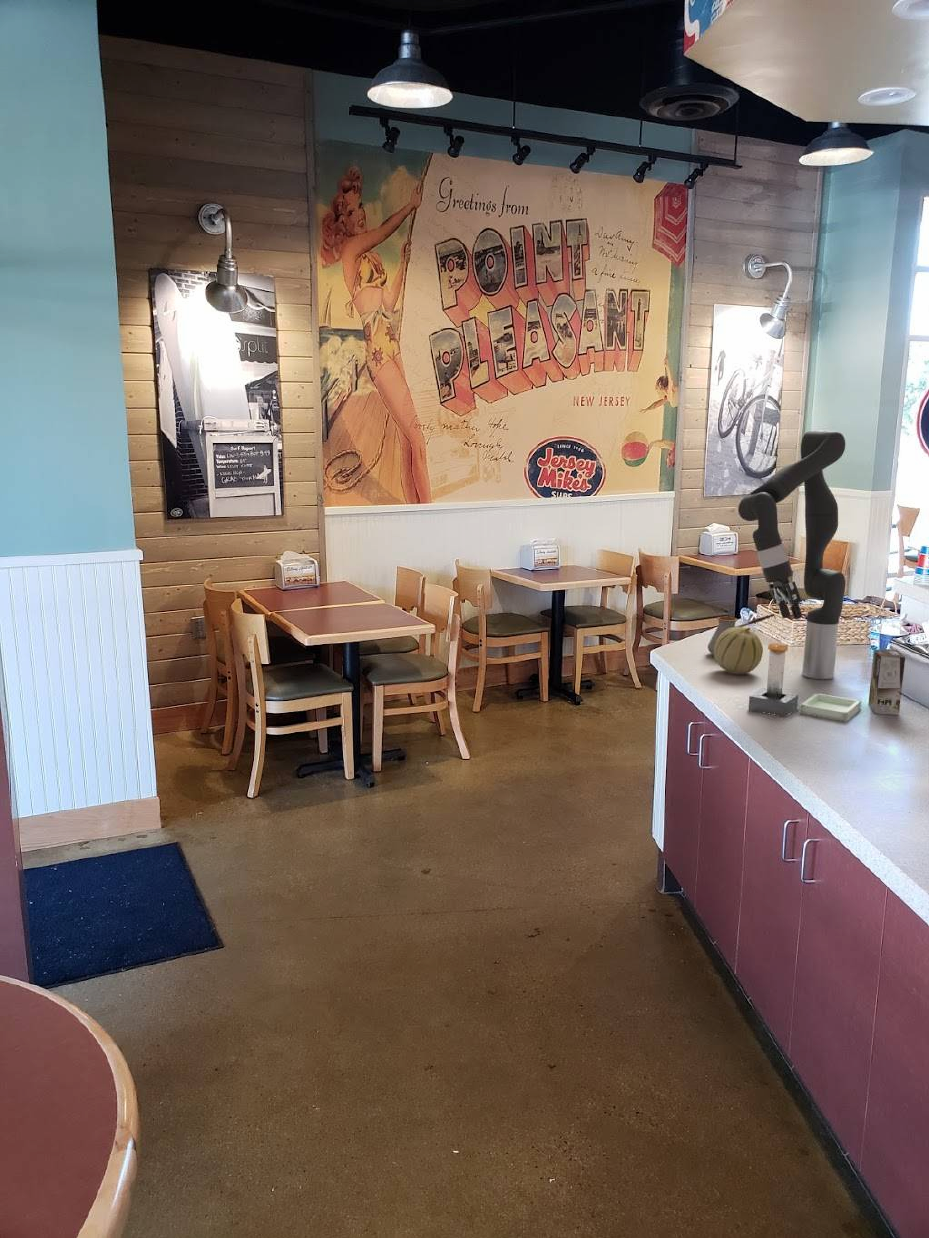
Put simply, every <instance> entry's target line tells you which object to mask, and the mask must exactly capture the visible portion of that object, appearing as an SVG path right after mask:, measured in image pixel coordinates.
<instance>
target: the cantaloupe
mask: <svg viewBox="0 0 929 1238" xmlns="http://www.w3.org/2000/svg"><path fill="white" fill-rule="evenodd" d="M763 652H764V647H763V643H762V641H761V638H760V637H759V635H758V634H756V633H755V632H754V631H752V629H751V628H750V627H747V628H746V627H736V626H735V627H733V628H729V629H727V630H725V631H724V632H722V633H721V634H720V636H719V637H718V639H717V640H716V643H715V646H714V656H713V657H714V660H715V662H716V663H717V665H718V666H719V667H720V668H721V669H722V670H724V671H725V672H726V673H729V674H733V675H744V674H745V675H746V674H748V673H751V672H753V671H754V670H755V669H756V668H757V667H758V665H759V664H761V661H762V657H763Z"/></svg>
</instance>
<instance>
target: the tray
mask: <svg viewBox="0 0 929 1238" xmlns="http://www.w3.org/2000/svg"><path fill="white" fill-rule="evenodd" d="M861 705H862V700H859V699H853V698H848V697H842V696H837V695H829V694H825V693H819V692H816V693H814V694H813V695H812V696H810V697H809V698H807V700H805V701H804V702H802V703H800V707H799V714H801V713H803V714H802V715H806V714H808V715H807V716H811V715H813V716H812V717H816V716H818V717H817V718H821V717H823V719H827V718H828V719H827V720H832V719H834V720H833V721H837V720H839V721H838V722H842V721H843V722H842V723H847V722H848V721H849V720H850V719H851V718H853V716H855V715H856V714H858V713H859V711H860V710H861V709H862V708H861V707H862V706H861Z"/></svg>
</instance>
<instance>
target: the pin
mask: <svg viewBox="0 0 929 1238" xmlns="http://www.w3.org/2000/svg"><path fill="white" fill-rule="evenodd" d="M767 647H768V648H767V649H768V650H769V657H768V669H767V670H768V672H767V680H766V681H767V684H766V689H767V693H766V697H770V698H776V699H782V692H783V685H784V674H785V673H784V672H785V663H786V651H788V650H789V649H788V647H789V645H788V644H783V643H778V642H777V643H776V642H773V643H768V645H767Z"/></svg>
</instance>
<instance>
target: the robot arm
mask: <svg viewBox="0 0 929 1238" xmlns="http://www.w3.org/2000/svg"><path fill="white" fill-rule="evenodd" d="M845 450H846V439H845V436H844V435H843V433H841V432H840V431H835V430H823V429H822V430H821V429H819V430H818V429H810V430H807V431H806V432H805V433H804V434H803V436H802V438H801V442H800V458H801V459H799V460H797V461H795V462H792V463H790V464H788V465H786V466H784V467H782V468H780V469H779V470H778V471H776V472H775V473H774V474H773V475H772V476H771V477H769V479H767V480H766V482H764V483H763V484H761V486H759V487H757V488H755V489H754V490H752V491H750V493H748V494H746V496H744V497H743V498H742V499H741V500H740V502H739V503H738V507H737V508H738V510H737V511H738V514H739V517H740V518H741V519H742V520H744V521H747V522H754V521H757V522H758V523H757V524H758V525H757V527H758V528H756V529H755V530H754V531H753V533H752V539H753V543H754V545H755V549H756V551H757V557H758V560H759V564H760V567H761V568H760V569H761V570H762V574H763V577H764V580H765V582H766V583H769V584H768V588H769V591H770V593H771V597H772V601H773V603H774V604H775V605H777V607H778V608H779V611H780V613H781V614H780V615H781V618H783V619H786V618H789V617H791V615H792V617H793V619H794V620H798V619H800V618H803V614H802V611H801V608H800V607H801V606H800V602H802V598H801V596H800V593H799V590H798V587H797V584H796V582H795V581H794V580H793V581H790V580H789V577H792V576H793V575H794V573H793V569H792V565H791V563H790V559H789V556H788V553H787V551H786V548H785V546H784V544H783V542H782V541H783V540H782V538H781V535H780V532H779V527H778V525H779V522H778V520H779V519H778V509H777V504H779V503H781V502H782V501H784V500H785V499H786V498H787V497H788V496H790V495H791V493H793V492H794V491H795V490H797V488H798V487H799V486H801V485H802V484H803V483H804V484H803V485H804V507H805V508H804V522H805V523H804V525H805V527H804V528H805V562H804V573H803V588H804V591H805V594H806V595H807V596H808V597H809V598H813V599H817V600H822V601H823V603H822V606H821V607H820V608H816V609H815V608H814V609H811V610H809V611H808V612H807V614H806V615H807V616H806V628H805V638H804V649H803V661H802V668H801V669H802V670H801V675H802V676H803V677H807V678H808V679H816V680H831V679H833V678H834V676H835V667H836V666H835V665H836V657H837V647H838V646H837V645H838V635H839V623H840V619H841V618H840V617H841V614H842V612H843V605H844V599H845V593H846V577H845V575H844V574H843V573H842V571H839V570H838V571H837V570H832V569H826V568H824V567H823V564H824V563H823V561H824V554H825V552H826V551H825V550H826V549H827V547H828V546H829V544H830V542H831V541H832V540H833V538H834V537H835V535H836V532H837V531H838V528H839V505H838V502H837V500H836V498H835V496H834V494H833V492H832V490H831V489H830V487H829V485H828V483H827V482H826V480H825V476H824V471H823V470H825V469H826V468H828V467H830V466H831V465H833V464H834V463H836V462H837V461H838V460H840V458H842V456H843V455H844V453H845ZM787 603H788V604H787ZM789 607H790V609H789ZM790 611H791V612H790Z"/></svg>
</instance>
